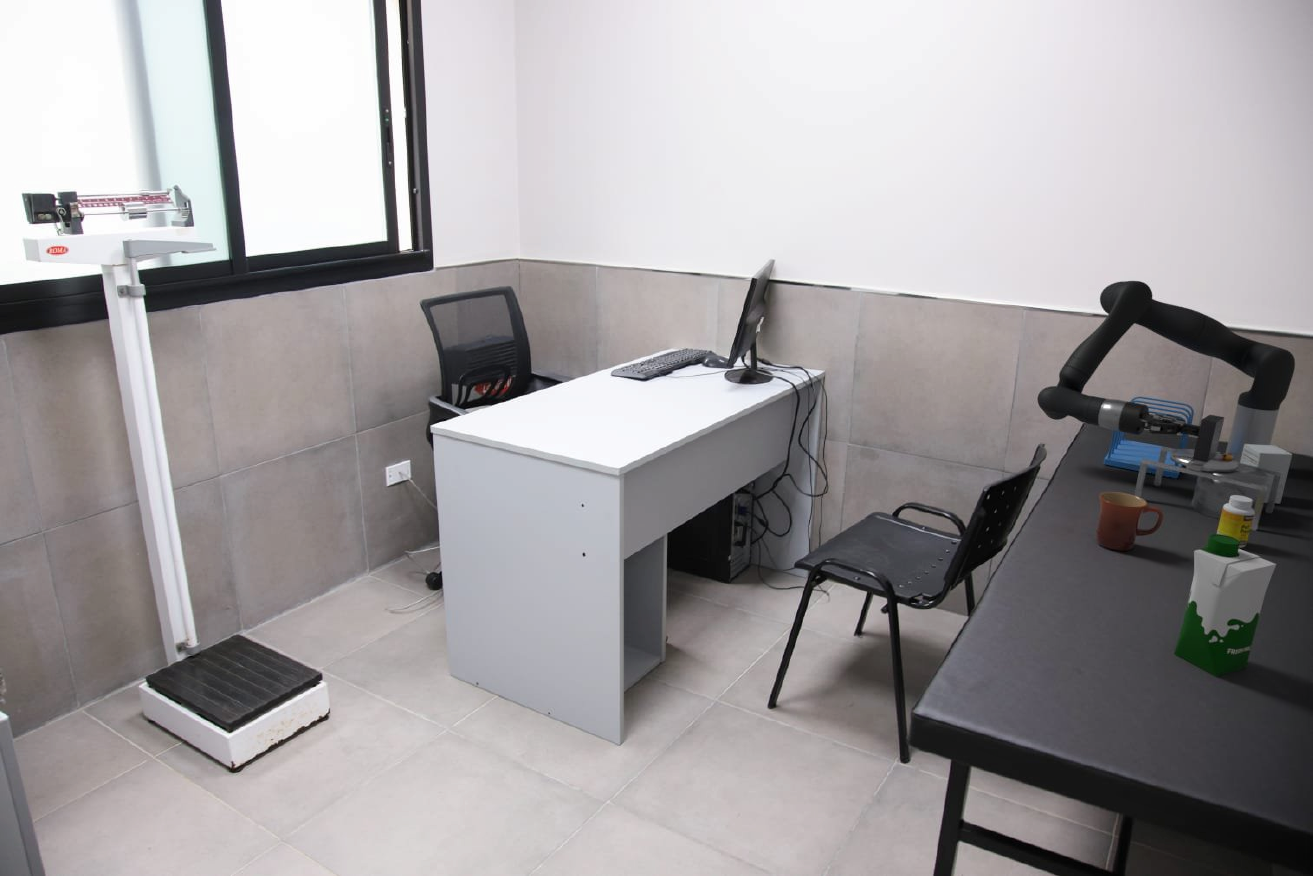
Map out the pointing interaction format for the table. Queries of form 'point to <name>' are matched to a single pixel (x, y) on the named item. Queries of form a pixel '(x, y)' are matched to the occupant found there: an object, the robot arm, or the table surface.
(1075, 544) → the table surface
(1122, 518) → the mug
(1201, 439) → the steel lid
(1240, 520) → the supplement bottle
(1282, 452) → the supplement box
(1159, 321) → the robot arm
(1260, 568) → the milk carton
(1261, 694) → the table surface
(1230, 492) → the cooker pot
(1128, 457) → the file sorter
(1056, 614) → the table surface
